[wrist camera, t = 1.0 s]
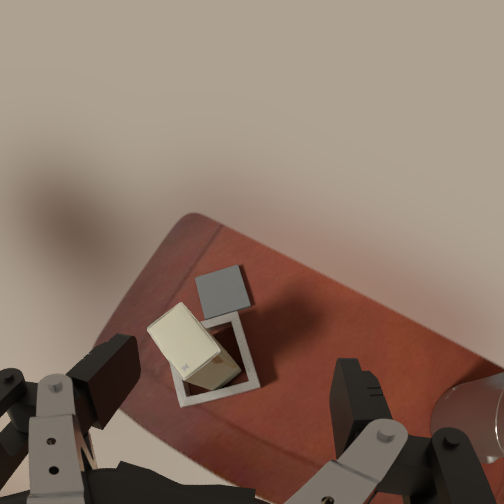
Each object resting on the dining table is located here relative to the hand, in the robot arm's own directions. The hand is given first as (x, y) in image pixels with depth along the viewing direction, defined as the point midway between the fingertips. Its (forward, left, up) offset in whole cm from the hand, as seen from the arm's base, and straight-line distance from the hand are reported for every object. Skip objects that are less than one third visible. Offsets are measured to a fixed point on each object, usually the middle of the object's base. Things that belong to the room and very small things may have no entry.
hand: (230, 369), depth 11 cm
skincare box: (+6, +5, -26) cm, 27 cm away
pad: (+14, +2, -26) cm, 29 cm away
